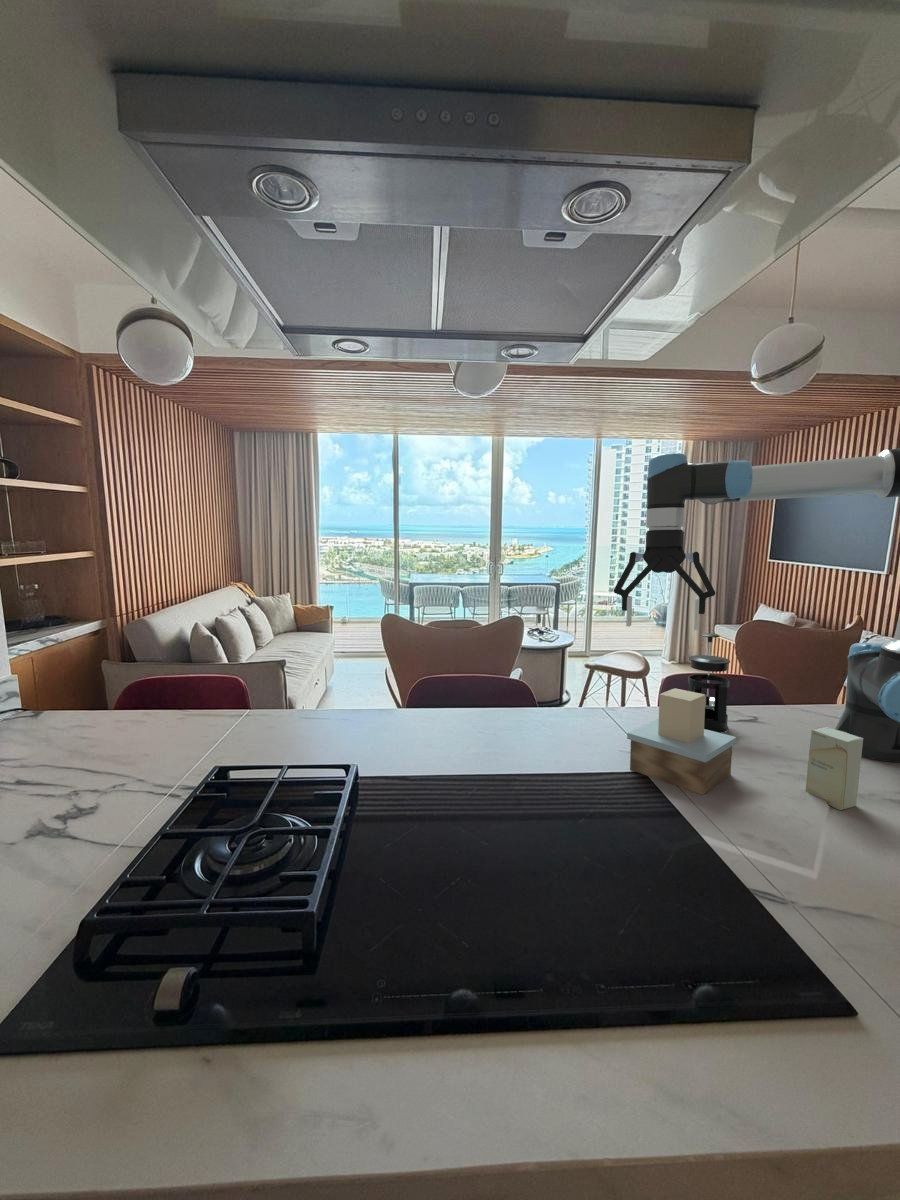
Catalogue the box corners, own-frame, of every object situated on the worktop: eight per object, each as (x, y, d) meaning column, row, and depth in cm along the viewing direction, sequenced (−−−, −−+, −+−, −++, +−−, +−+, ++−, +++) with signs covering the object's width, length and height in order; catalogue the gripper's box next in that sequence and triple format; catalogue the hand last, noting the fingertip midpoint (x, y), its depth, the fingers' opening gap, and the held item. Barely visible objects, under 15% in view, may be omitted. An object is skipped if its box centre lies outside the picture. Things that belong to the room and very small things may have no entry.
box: (730, 778, 99) (732, 743, 98) (702, 799, 91) (704, 760, 91) (660, 756, 110) (661, 724, 109) (629, 773, 102) (630, 738, 101)
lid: (736, 743, 98) (738, 696, 97) (705, 762, 90) (707, 711, 89) (660, 723, 110) (661, 680, 109) (627, 738, 101) (628, 692, 100)
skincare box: (804, 795, 92) (808, 728, 91) (821, 790, 94) (825, 725, 93) (842, 811, 87) (847, 741, 85) (859, 806, 88) (864, 737, 87)
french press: (676, 720, 132) (679, 630, 130) (712, 718, 133) (715, 629, 130) (702, 736, 120) (706, 639, 118) (741, 735, 121) (746, 638, 119)
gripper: (730, 528, 109) (725, 628, 111) (607, 530, 120) (605, 621, 122) (732, 527, 102) (727, 633, 104) (601, 530, 113) (599, 626, 115)
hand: (661, 627), depth 113 cm, fingers open, 13 cm apart
